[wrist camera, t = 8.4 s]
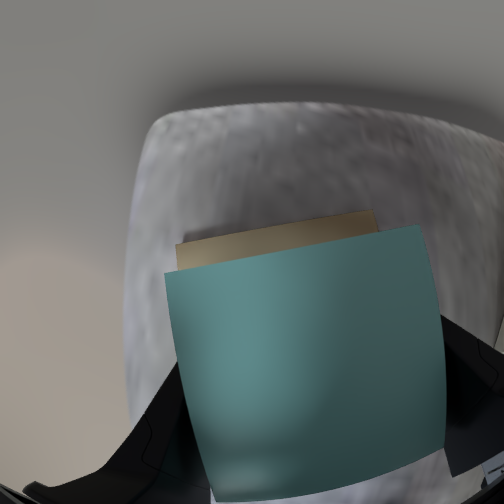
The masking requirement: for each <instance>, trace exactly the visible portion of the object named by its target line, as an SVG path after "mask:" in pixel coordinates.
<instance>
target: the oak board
mask: <svg viewBox="0 0 504 504" xmlns="http://www.w3.org/2000/svg"><path fill="white" fill-rule="evenodd" d="M375 232H379V230H378V227H377V223H376V220H375V216H374V213H373V210H372V209H371V210H365V211H359V212H352V213H346V214H340V215H334V216H328V217H322V218H316V219H310V220H305V221H299V222H293V223H287V224H282V225H276V226H271V227H265V228H260V229H254V230H249V231H243V232H238V233H233V234H227V235H222V236H217V237H212V238H207V239H201V240H196V241H191V242H186V243H181V244H176V256H177V265H178V271H179V270H184V269H189V268H195V267H200V266H205V265H211V264H216V263H221V262H226V261H232V260H237V259H242V258H247V257H252V256H258V255H263V254H268V253H273V252H278V251H283V250H289V249H294V248H299V247H304V246H309V245H314V244H319V243H325V242H330V241H335V240H340V239H345V238H350V237H355V236H360V235H365V234H370V233H375Z"/></svg>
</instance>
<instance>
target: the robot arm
mask: <svg viewBox="0 0 504 504" xmlns="http://www.w3.org/2000/svg"><path fill="white" fill-rule="evenodd" d="M440 317H441V324H442V332H443V341H444V352H445V366H446V428H445V441H444V450H445V454H446V457H447V461H448V464H449V468H450V472H451V475H452V478H453V477H456V476H458V475H460V474H462V473H464V472H466V471H468V470H470V469H472V468H474V467H476V466H478V465H480V464H481V466H482V469H483V472H484V475H485V477H484V479H483V482H482V484H481V489H482V490H481V491H479V492H478V493H476V494H475V495H473V496H472V497H470V498H469V499H467V500H466V501H464V502H463V503H461V504H504V354H502V353H501V352H499V351H497V350H495V349H494V348H492V347H491V346H489V345H487V344H486V343H484V342H483V341H481V340H480V339H477V337H475V336H474V335H472V334H471V333H469V332H467V331H466V330H464V329H463V328H461V327H460V326H458V325H457V324H455V323H453V322H452V321H450V320H449V319H447V318H446V317H444V316H442V315H441V314H440ZM144 413H145V414H143V415H142V417H141V418H140V420H139V422H138V423H137V424H136V426H135V427H134V429H133V430H132V432H131V433H130V435H129V436H128V437H127V438H126V440H125V441H124V442H123V443H122V445H121V446H120V447H119V448H118V449H117V451H116V452H115V453H114V454H113V455H112V457H111V458H110V459H109V461H107V463H106V464H105V465H104V466H103V467H102V468H100V469H99V470H97V471H96V472H94V473H91V474H89V475H87V476H84V477H81V478H79V479H76V480H73V481H71V482H68V483H65V484H62V485H59V486H55V487H48V486H46V485H43V484H41V483H38V482H36V481H34V482H32V483H30V484H28V485H27V486H26V487H25V488H24V489H23V491H22V492H23V493H24V494H26V495H27V496H29V497H30V498H29V497H27V496H25V495H23V494H20V493H18V492H16V491H14V490H12V489H10V488H8V487H6V486H4V485H2V484H0V504H211V492H210V483H209V480H208V477H207V474H206V471H205V468H204V465H203V462H202V458H201V455H200V452H199V448H198V445H197V441H196V438H195V434H194V431H193V427H192V423H191V419H190V415H189V411H188V407H187V403H186V399H185V394H184V390H183V385H182V381H181V376H180V371H179V366H178V361H177V362H176V364H175V365H174V367H173V369H172V370H171V372H170V373H169V375H168V376H167V378H166V379H165V381H164V383H163V384H162V386H161V387H160V389H159V390H158V392H157V394H156V395H155V397H154V398H153V400H152V401H151V403H150V404H149V406H148V408H147V409H146V411H145V412H144Z"/></svg>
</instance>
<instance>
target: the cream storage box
mask: <svg viewBox="0 0 504 504" xmlns="http://www.w3.org/2000/svg"><path fill="white" fill-rule="evenodd" d="M494 349H495V350H497V351H499V352H501V353H502V354H504V317H503V321H502V324H501V328H500V331H499V335H498V338H497V341H496V344H495V347H494Z"/></svg>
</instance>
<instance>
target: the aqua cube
mask: <svg viewBox="0 0 504 504" xmlns="http://www.w3.org/2000/svg"><path fill="white" fill-rule="evenodd" d="M164 275H165V284H166V292H167V300H168V307H169V314H170V320H171V327H172V333H173V339H174V345H175V350H176V356H177V361H178V366H179V371H180V376H181V381H182V385H183V390H184V394H185V399H186V403H187V407H188V411H189V415H190V419H191V423H192V427H193V431H194V434H195V438H196V441H197V445H198V448H199V452H200V455H201V458H202V462H203V465H204V468H205V471H206V474H207V477H208V480H209V483H210V486H211V489H212V492H213V495H214V498H215V500H216V502H251V501H265V500H275V499H283V498H291V497H297V496H303V495H309V494H314V493H319V492H324V491H328V490H333V489H337V488H341V487H345V486H348V485H352V484H355V483H359V482H362V481H365V480H368V479H371V478H374V477H377V476H380V475H383V474H386V473H388V472H391V471H393V470H396V469H399V468H401V467H403V466H406V465H408V464H410V463H413V462H415V461H417V460H419V459H421V458H423V457H426V456H428V455H430V454H432V453H434V452H436V451H437V450H439V449H441V448H443V447H444V441H445V428H446V366H445V352H444V341H443V332H442V324H441V317H440V311H439V305H438V299H437V293H436V288H435V283H434V278H433V274H432V269H431V265H430V261H429V257H428V253H427V249H426V245H425V242H424V238H423V235H422V231H421V228H420V225H419V224H415V225H410V226H405V227H400V228H395V229H390V230H385V231H380V232H375V233H370V234H365V235H360V236H355V237H350V238H345V239H340V240H335V241H330V242H325V243H319V244H314V245H309V246H304V247H299V248H294V249H289V250H283V251H278V252H273V253H268V254H263V255H258V256H252V257H247V258H242V259H237V260H232V261H226V262H221V263H216V264H211V265H205V266H200V267H195V268H189V269H184V270H179V271H174V272H168V273H164Z"/></svg>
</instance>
